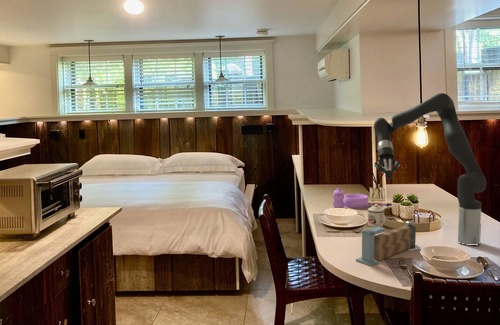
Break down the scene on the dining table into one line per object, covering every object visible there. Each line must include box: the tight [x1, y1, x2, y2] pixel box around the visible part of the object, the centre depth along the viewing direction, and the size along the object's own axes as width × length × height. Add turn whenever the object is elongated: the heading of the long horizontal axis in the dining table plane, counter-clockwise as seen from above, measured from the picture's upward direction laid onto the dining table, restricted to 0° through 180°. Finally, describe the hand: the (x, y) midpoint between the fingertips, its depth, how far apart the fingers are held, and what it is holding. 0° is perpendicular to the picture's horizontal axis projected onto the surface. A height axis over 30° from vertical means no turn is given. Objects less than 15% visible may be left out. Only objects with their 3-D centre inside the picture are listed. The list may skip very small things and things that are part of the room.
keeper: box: [355, 226, 386, 267], centre depth 189 cm, size 12×8×14 cm
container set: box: [332, 187, 369, 209], centre depth 287 cm, size 25×15×13 cm, turn 114°
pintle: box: [405, 220, 421, 252], centre depth 205 cm, size 9×9×12 cm
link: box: [374, 223, 417, 262], centre depth 197 cm, size 28×5×10 cm, turn 129°
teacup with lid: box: [367, 203, 387, 228], centre depth 241 cm, size 12×9×12 cm
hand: (388, 178), depth 217 cm, fingers closed
